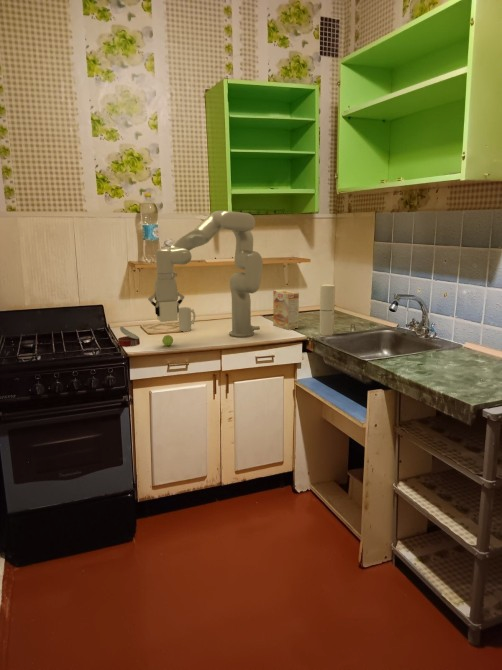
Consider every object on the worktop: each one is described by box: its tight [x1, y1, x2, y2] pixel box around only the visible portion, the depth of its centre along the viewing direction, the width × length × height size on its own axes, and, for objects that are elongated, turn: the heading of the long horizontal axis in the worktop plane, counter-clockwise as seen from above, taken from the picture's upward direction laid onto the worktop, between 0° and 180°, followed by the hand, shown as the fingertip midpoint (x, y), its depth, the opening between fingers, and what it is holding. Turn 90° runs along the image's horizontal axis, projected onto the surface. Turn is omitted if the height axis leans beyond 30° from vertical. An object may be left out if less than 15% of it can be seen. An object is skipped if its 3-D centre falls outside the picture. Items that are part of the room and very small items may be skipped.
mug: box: [178, 306, 196, 333], centre depth 271 cm, size 10×7×12 cm, turn 130°
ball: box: [161, 334, 174, 347], centre depth 238 cm, size 5×5×5 cm
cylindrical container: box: [318, 283, 336, 336], centre depth 258 cm, size 7×7×25 cm
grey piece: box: [156, 300, 179, 323], centre depth 234 cm, size 8×8×9 cm
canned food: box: [117, 326, 141, 348], centre depth 242 cm, size 11×10×10 cm
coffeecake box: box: [272, 289, 300, 331], centre depth 276 cm, size 15×7×20 cm, turn 30°
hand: (167, 314), depth 234 cm, fingers closed on grey piece, 7 cm apart
